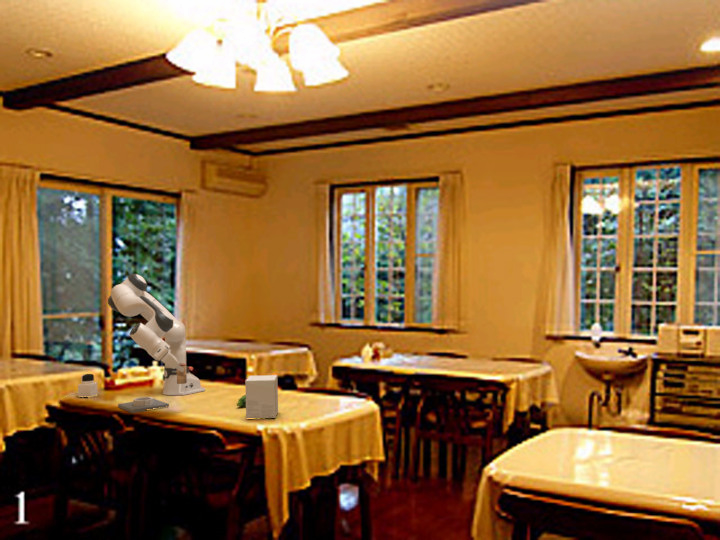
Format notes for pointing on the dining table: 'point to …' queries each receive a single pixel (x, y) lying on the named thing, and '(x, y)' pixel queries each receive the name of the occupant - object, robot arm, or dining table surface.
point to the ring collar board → (141, 408)
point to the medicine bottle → (87, 386)
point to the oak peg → (182, 374)
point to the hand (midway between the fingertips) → (182, 370)
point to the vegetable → (242, 401)
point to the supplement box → (261, 396)
